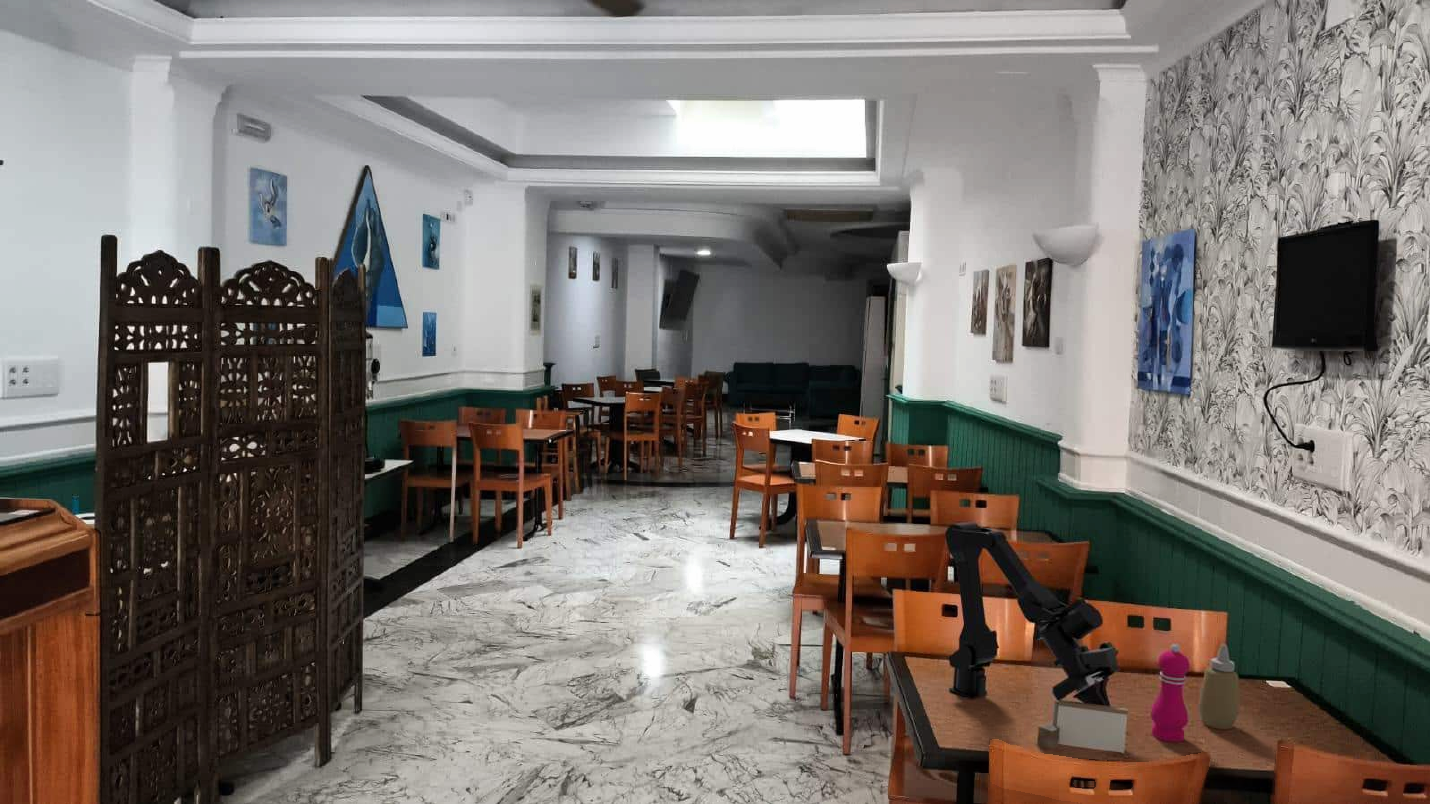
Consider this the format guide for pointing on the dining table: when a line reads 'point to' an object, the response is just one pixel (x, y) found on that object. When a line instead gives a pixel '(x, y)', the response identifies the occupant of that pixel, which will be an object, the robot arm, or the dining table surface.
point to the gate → (1091, 725)
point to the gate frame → (1048, 736)
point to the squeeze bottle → (1220, 692)
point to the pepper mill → (1170, 697)
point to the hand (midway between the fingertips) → (1111, 717)
